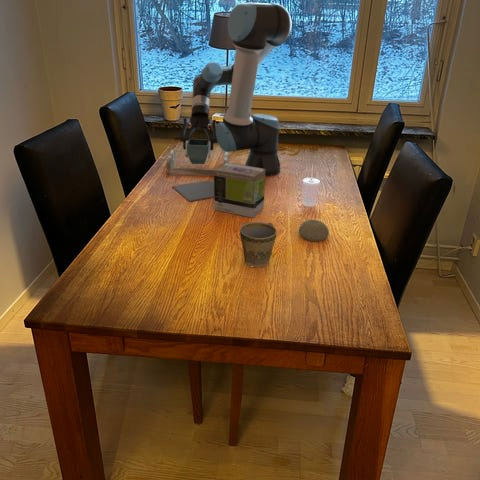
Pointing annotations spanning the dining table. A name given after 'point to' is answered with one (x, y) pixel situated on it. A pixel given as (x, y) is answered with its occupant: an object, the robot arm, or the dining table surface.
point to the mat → (196, 190)
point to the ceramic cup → (257, 242)
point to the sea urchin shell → (313, 230)
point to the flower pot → (197, 150)
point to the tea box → (239, 189)
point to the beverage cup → (310, 190)
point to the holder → (188, 171)
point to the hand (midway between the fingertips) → (197, 156)
